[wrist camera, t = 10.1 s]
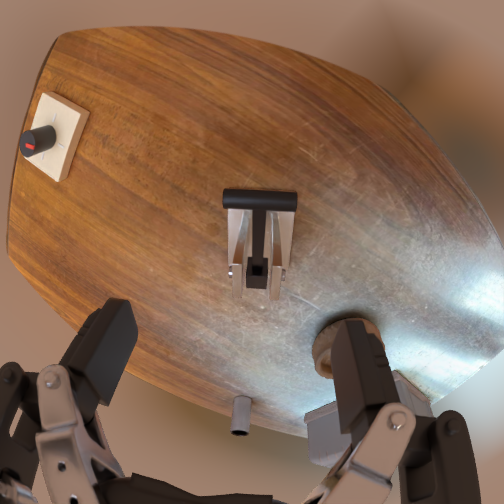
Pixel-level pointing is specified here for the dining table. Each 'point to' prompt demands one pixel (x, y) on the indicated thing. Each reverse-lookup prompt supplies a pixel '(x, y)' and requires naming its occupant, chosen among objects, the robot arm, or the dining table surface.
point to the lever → (258, 224)
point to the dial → (37, 140)
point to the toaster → (334, 443)
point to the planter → (241, 416)
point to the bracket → (274, 246)
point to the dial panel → (58, 133)
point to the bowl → (325, 343)
